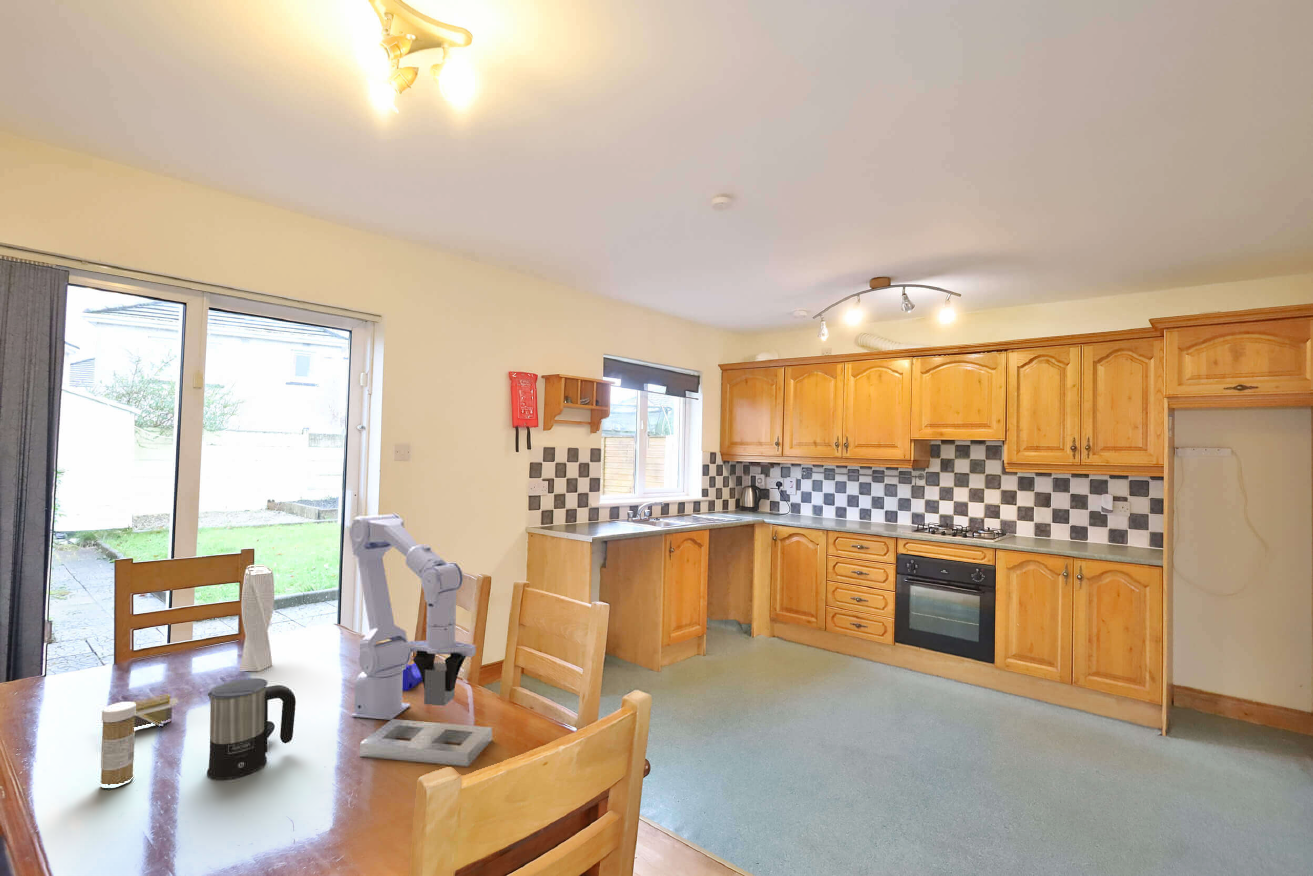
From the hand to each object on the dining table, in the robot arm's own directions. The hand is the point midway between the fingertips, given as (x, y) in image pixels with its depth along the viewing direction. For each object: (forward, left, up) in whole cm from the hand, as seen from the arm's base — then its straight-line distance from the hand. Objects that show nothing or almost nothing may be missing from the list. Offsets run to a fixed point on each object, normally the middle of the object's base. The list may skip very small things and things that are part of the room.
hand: (439, 689), depth 130 cm
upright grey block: (0, 0, -2) cm, 2 cm away
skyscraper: (-66, +27, -10) cm, 72 cm away
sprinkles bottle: (-45, -28, -10) cm, 54 cm away
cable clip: (-21, +26, -10) cm, 35 cm away
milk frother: (-31, -16, -10) cm, 37 cm away
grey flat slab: (+1, -6, -9) cm, 11 cm away
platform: (-60, -9, -10) cm, 61 cm away
